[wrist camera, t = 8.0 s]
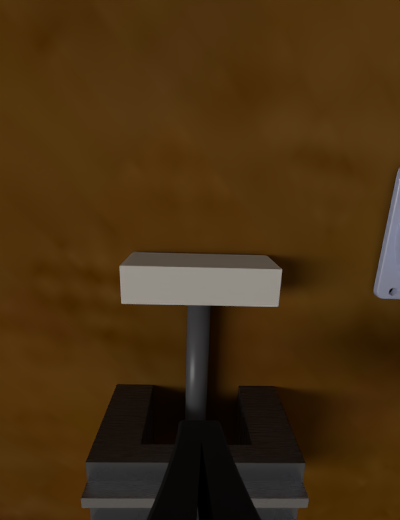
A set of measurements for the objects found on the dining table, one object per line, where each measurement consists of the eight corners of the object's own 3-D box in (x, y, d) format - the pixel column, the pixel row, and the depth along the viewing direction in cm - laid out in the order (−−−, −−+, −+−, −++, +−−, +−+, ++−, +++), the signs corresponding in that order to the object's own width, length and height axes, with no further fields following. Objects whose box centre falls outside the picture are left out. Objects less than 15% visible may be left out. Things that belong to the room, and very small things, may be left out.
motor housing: (274, 386, 19) (312, 479, 13) (266, 453, 20) (297, 566, 14) (116, 384, 19) (78, 479, 13) (120, 453, 20) (88, 567, 14)
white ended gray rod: (266, 255, 16) (282, 269, 13) (239, 539, 22) (246, 592, 19) (133, 252, 16) (119, 265, 13) (142, 540, 22) (134, 593, 19)
